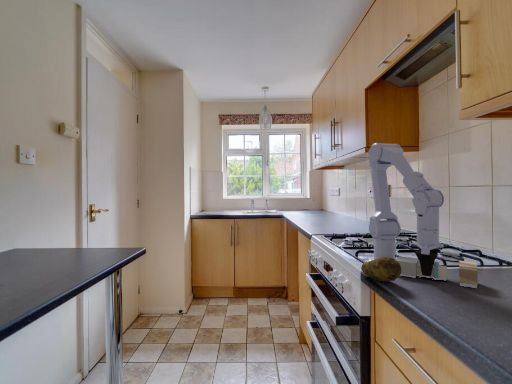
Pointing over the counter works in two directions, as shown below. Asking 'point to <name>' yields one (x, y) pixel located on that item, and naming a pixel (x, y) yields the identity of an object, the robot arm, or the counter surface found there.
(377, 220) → the robot arm
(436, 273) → the white bar teal band
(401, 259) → the sleeve
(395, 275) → the potato
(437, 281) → the counter surface
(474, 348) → the counter surface
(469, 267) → the tan rectangular block
